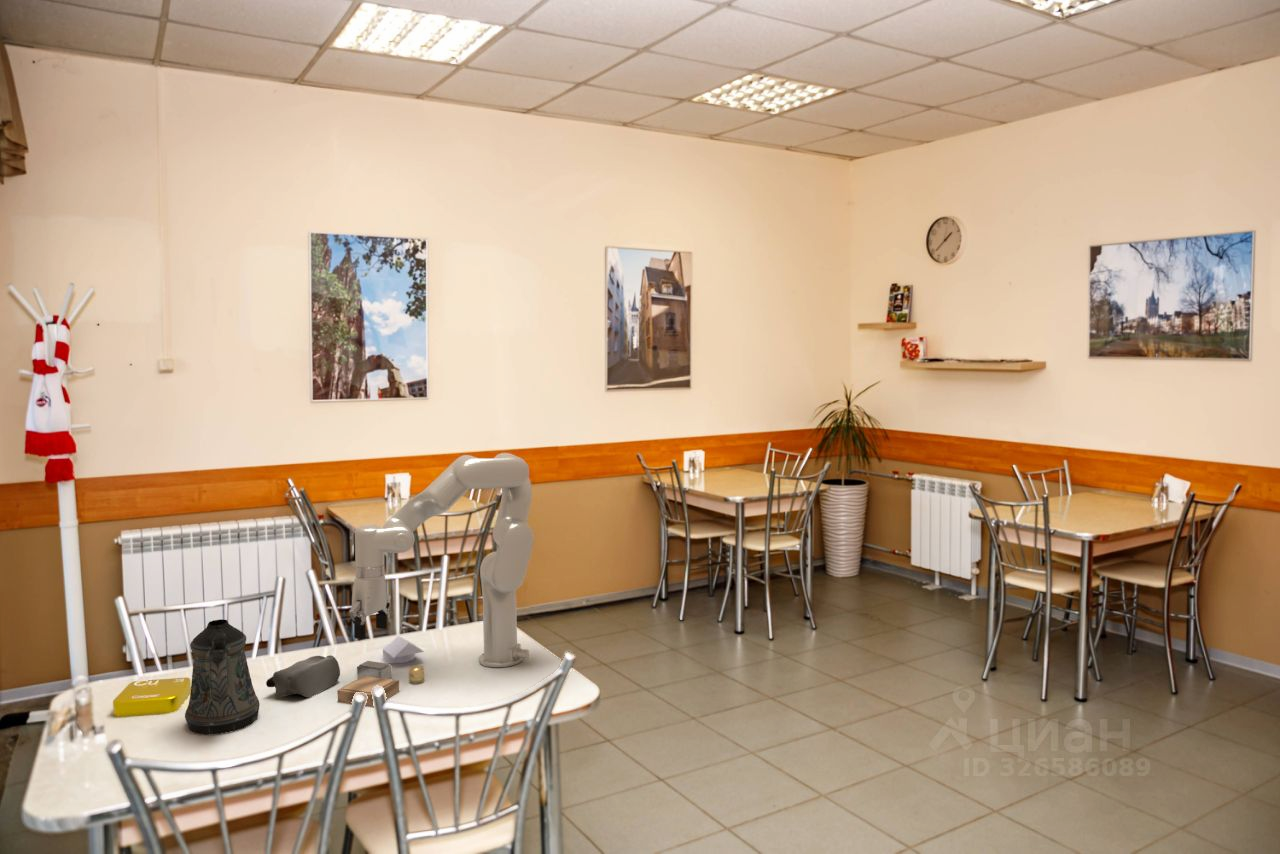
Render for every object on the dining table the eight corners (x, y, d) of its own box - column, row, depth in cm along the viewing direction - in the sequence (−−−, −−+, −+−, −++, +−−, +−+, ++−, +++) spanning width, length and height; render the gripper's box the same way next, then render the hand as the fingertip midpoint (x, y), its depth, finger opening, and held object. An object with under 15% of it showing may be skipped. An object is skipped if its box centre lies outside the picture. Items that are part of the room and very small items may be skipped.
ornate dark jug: (239, 703, 237) (234, 607, 235) (279, 722, 224) (274, 621, 222) (173, 723, 224) (167, 623, 222) (211, 745, 212) (206, 638, 210)
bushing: (427, 680, 252) (426, 665, 251) (419, 685, 248) (418, 670, 248) (414, 678, 253) (413, 664, 253) (406, 683, 249) (405, 669, 249)
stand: (399, 691, 244) (398, 679, 243) (374, 706, 233) (373, 694, 233) (363, 686, 247) (363, 674, 247) (337, 701, 237) (337, 689, 237)
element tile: (111, 719, 228) (109, 700, 228) (131, 696, 243) (130, 679, 242) (176, 714, 231) (175, 695, 231) (193, 692, 246) (192, 674, 245)
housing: (391, 679, 253) (391, 663, 253) (381, 684, 249) (380, 668, 249) (368, 675, 256) (367, 660, 256) (357, 680, 252) (356, 665, 252)
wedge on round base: (424, 662, 266) (408, 650, 276) (424, 640, 265) (407, 628, 276) (394, 669, 260) (378, 656, 271) (393, 646, 260) (378, 634, 271)
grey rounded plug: (314, 674, 257) (313, 647, 256) (346, 680, 253) (345, 652, 252) (264, 698, 240) (263, 669, 240) (298, 704, 236) (296, 674, 235)
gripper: (377, 563, 259) (378, 623, 261) (338, 577, 243) (339, 641, 244) (400, 565, 257) (401, 626, 258) (362, 580, 240) (363, 644, 242)
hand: (371, 633), depth 251 cm, fingers open, 9 cm apart
